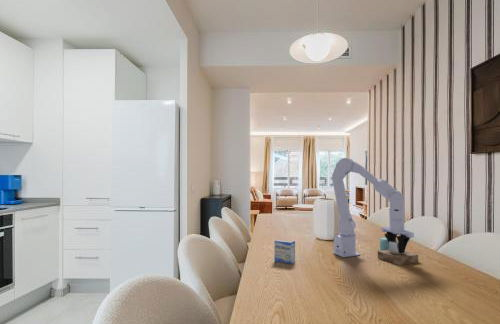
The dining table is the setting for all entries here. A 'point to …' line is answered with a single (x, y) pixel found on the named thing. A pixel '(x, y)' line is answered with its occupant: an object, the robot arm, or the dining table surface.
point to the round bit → (384, 244)
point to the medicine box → (284, 251)
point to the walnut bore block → (398, 257)
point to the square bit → (394, 247)
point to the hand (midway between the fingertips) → (397, 251)
